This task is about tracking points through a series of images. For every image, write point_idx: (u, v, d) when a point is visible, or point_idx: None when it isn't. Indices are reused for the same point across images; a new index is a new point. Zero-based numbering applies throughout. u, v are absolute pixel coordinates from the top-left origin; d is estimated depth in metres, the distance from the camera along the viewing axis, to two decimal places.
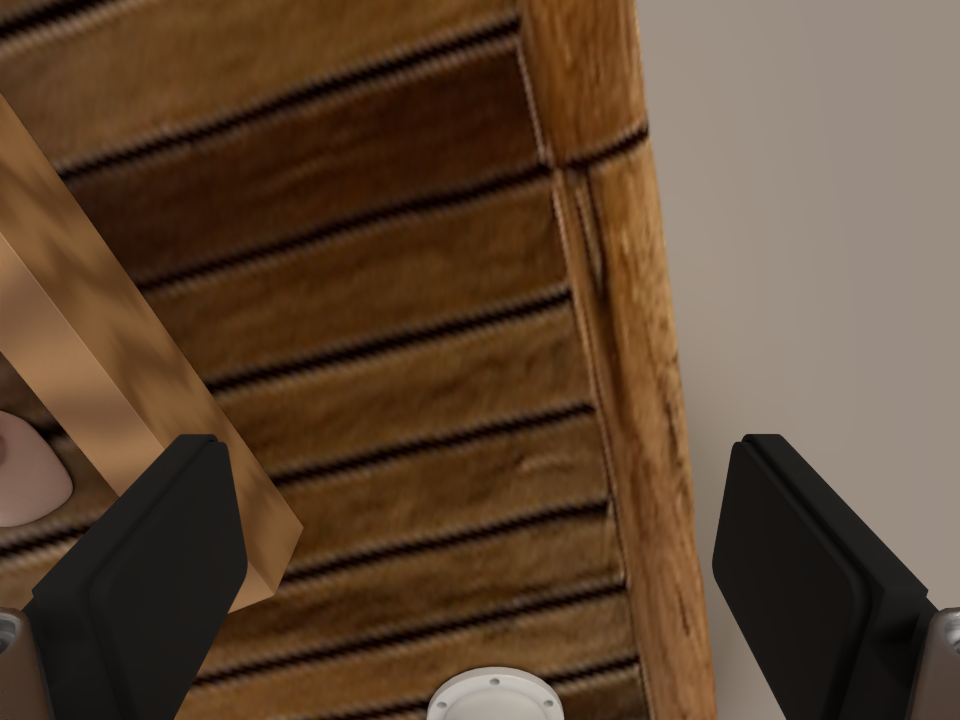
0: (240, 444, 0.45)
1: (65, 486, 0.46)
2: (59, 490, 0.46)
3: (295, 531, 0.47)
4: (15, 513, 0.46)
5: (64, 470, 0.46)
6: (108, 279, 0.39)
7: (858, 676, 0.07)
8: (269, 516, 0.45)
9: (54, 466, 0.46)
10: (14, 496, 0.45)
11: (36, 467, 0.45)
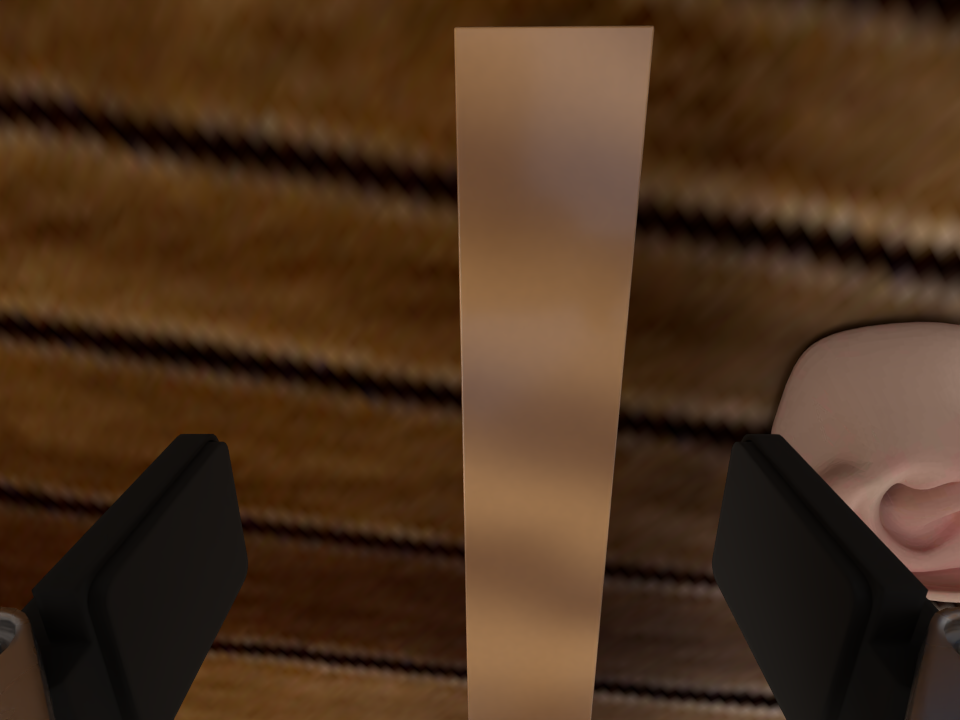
0: None
1: (811, 361, 0.25)
2: (824, 363, 0.24)
3: None
4: (931, 363, 0.24)
5: (788, 383, 0.25)
6: None
7: (857, 676, 0.07)
8: None
9: (792, 401, 0.25)
10: (891, 400, 0.24)
11: (814, 419, 0.25)
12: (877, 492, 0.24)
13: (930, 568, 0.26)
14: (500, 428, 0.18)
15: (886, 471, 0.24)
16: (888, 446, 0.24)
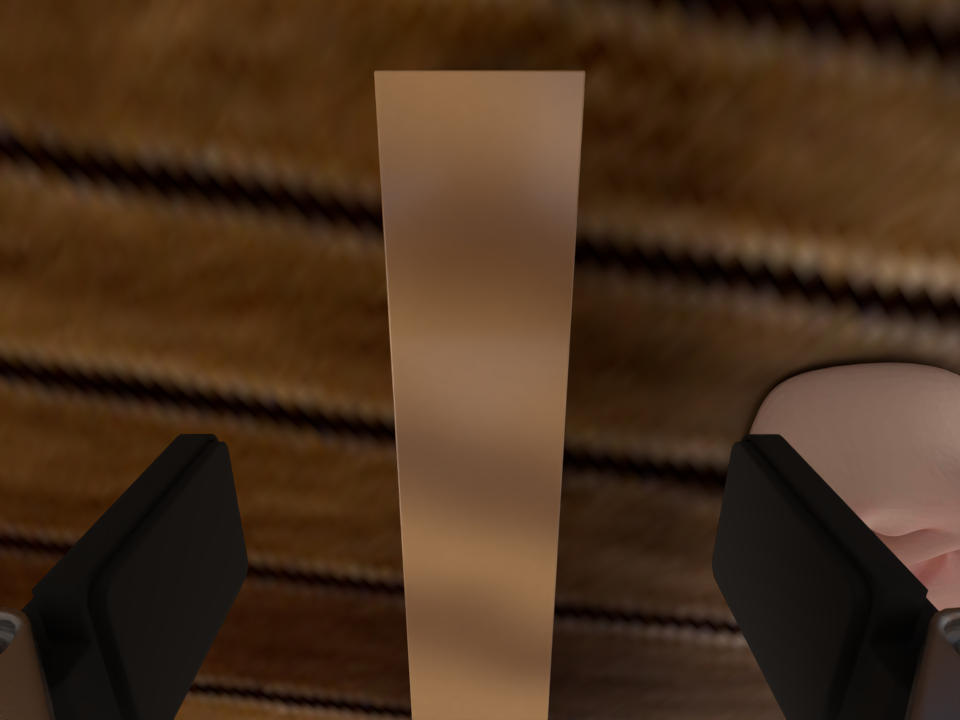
0: None
1: (777, 402, 0.24)
2: (791, 404, 0.24)
3: None
4: (901, 406, 0.23)
5: (754, 424, 0.25)
6: None
7: (857, 676, 0.07)
8: None
9: None
10: (860, 444, 0.23)
11: None
12: None
13: None
14: (437, 482, 0.17)
15: None
16: (856, 492, 0.23)
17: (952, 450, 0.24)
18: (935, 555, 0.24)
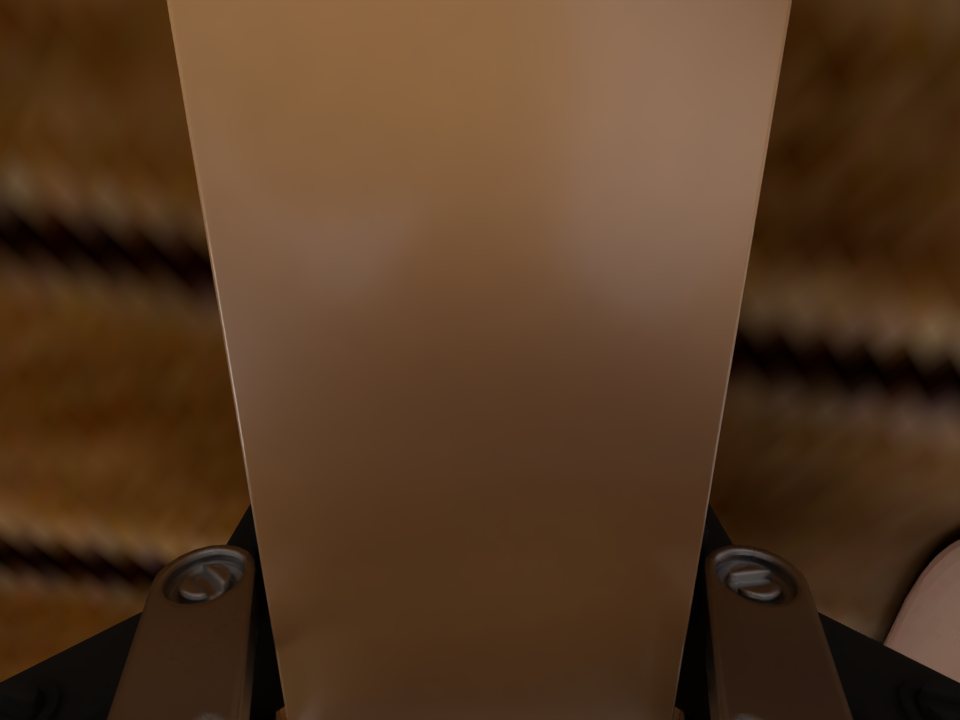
0: None
1: (954, 572, 0.15)
2: None
3: None
4: None
5: (911, 599, 0.16)
6: None
7: None
8: None
9: (918, 627, 0.16)
10: None
11: (956, 660, 0.15)
12: None
13: None
14: None
15: None
16: None
17: None
18: None
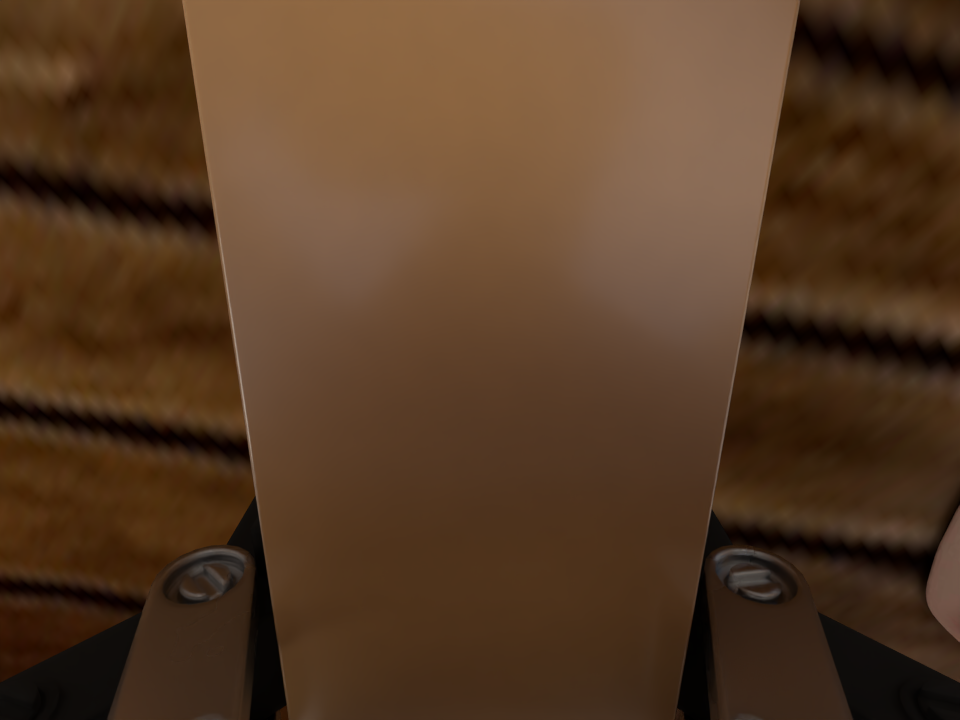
0: None
1: None
2: None
3: None
4: None
5: None
6: None
7: None
8: None
9: None
10: None
11: None
12: None
13: None
14: None
15: None
16: None
17: None
18: None
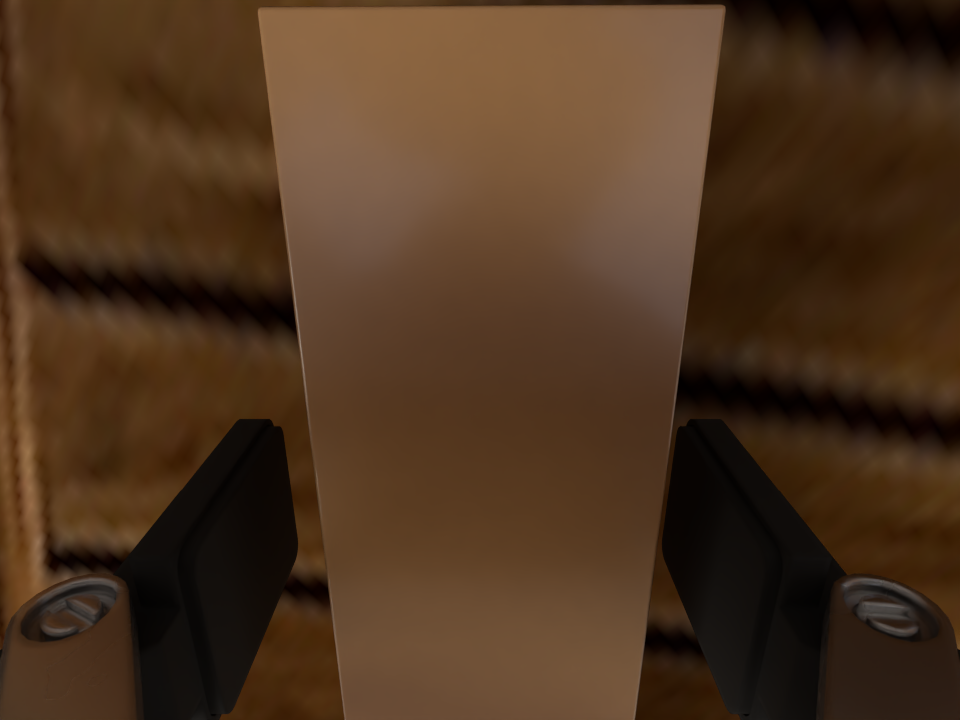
0: None
1: None
2: None
3: None
4: None
5: None
6: None
7: (772, 639, 0.08)
8: None
9: None
10: None
11: None
12: None
13: None
14: None
15: None
16: None
17: None
18: None
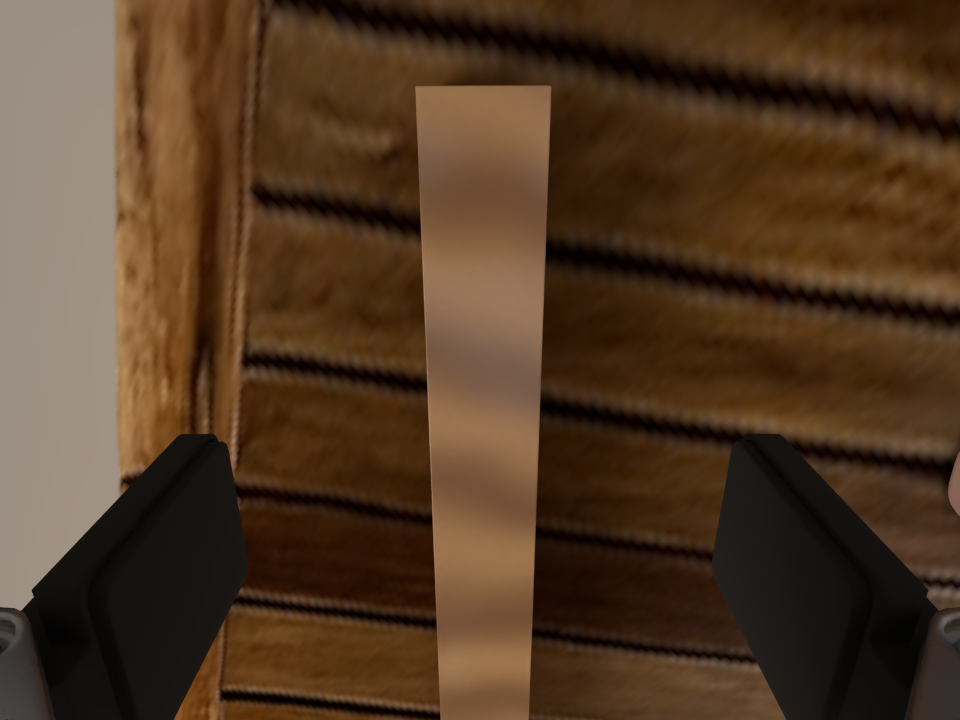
0: None
1: None
2: None
3: None
4: None
5: None
6: None
7: (857, 676, 0.07)
8: None
9: None
10: None
11: None
12: None
13: None
14: (454, 371, 0.25)
15: None
16: None
17: None
18: None
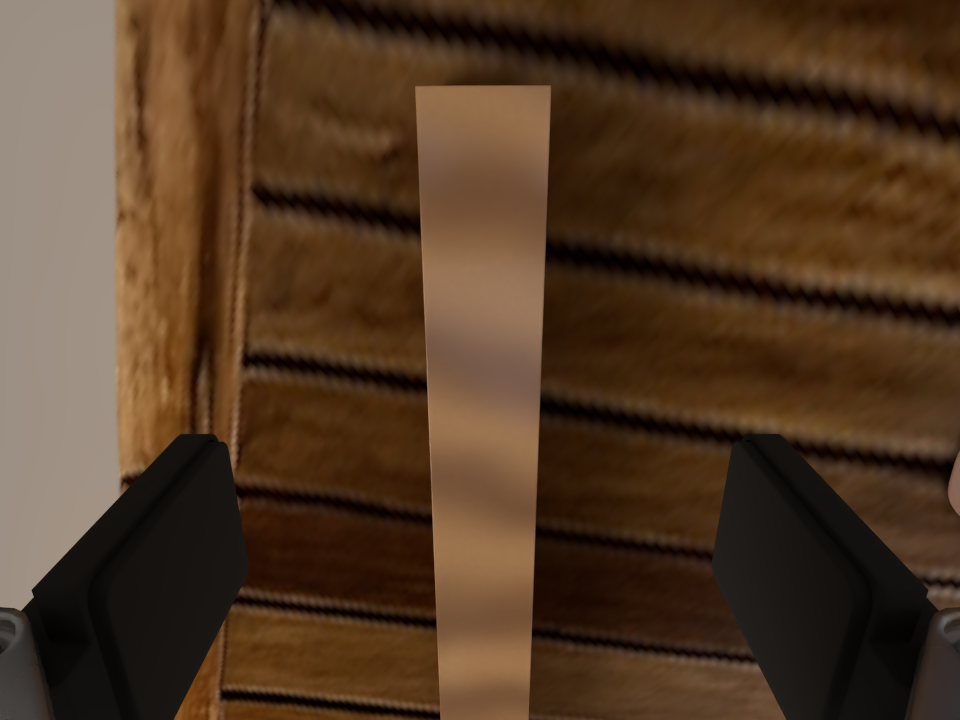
0: None
1: None
2: None
3: None
4: None
5: None
6: None
7: (857, 676, 0.07)
8: None
9: None
10: None
11: None
12: None
13: None
14: (454, 371, 0.25)
15: None
16: None
17: None
18: None
